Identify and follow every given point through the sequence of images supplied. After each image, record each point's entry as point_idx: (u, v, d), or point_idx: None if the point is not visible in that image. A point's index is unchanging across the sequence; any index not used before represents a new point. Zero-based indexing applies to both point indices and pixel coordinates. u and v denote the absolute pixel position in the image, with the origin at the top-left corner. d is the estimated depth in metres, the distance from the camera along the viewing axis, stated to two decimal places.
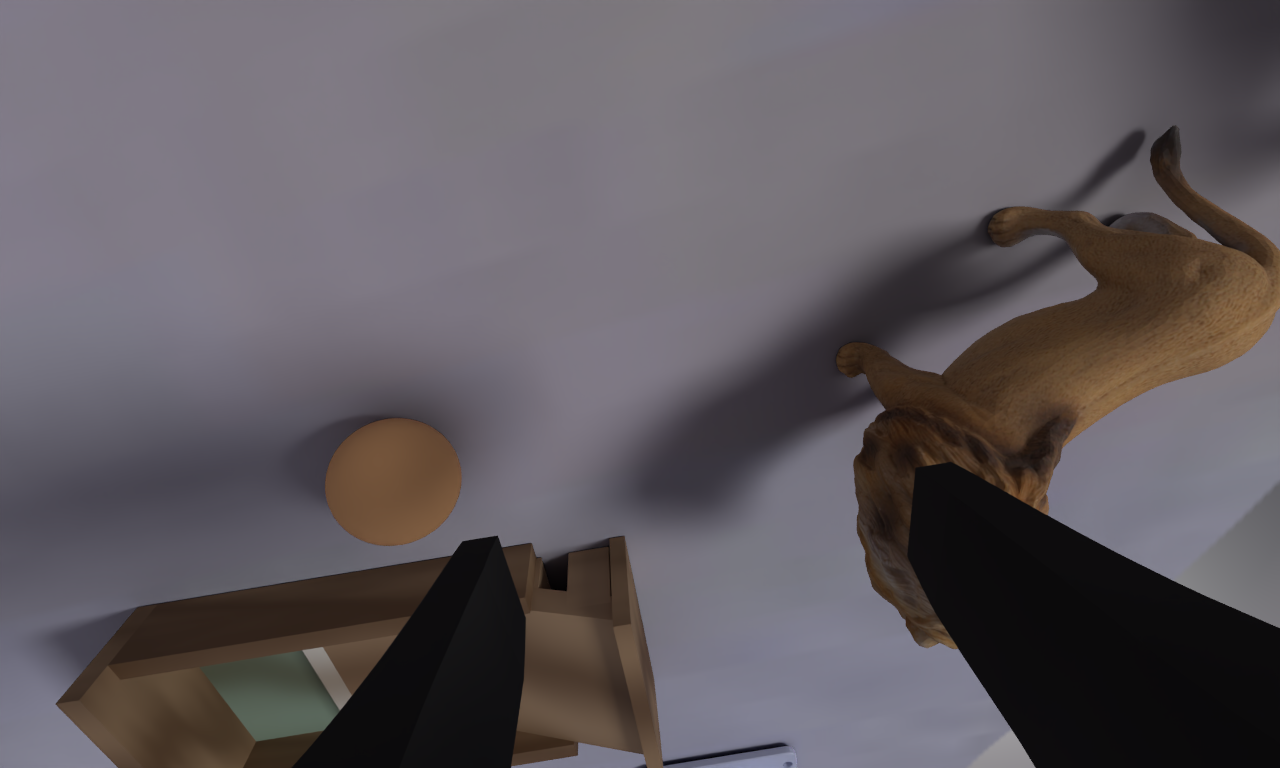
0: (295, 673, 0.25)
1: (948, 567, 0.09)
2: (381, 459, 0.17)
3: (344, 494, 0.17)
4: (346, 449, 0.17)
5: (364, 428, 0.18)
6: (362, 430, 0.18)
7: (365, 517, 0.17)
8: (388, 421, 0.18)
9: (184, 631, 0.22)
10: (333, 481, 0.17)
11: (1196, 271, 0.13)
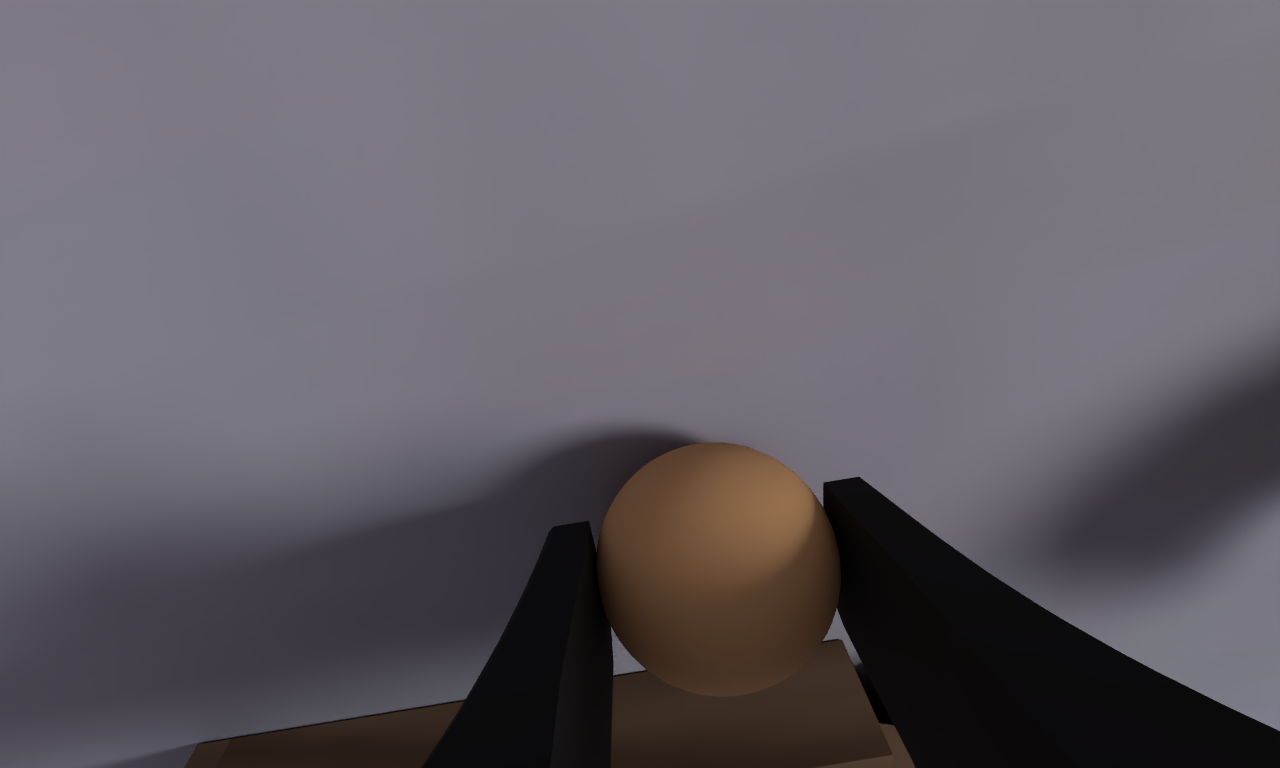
0: None
1: (851, 583, 0.09)
2: (753, 535, 0.08)
3: (680, 609, 0.08)
4: (664, 510, 0.09)
5: (678, 465, 0.09)
6: (678, 469, 0.09)
7: (723, 658, 0.08)
8: (718, 450, 0.09)
9: None
10: (645, 578, 0.08)
11: None
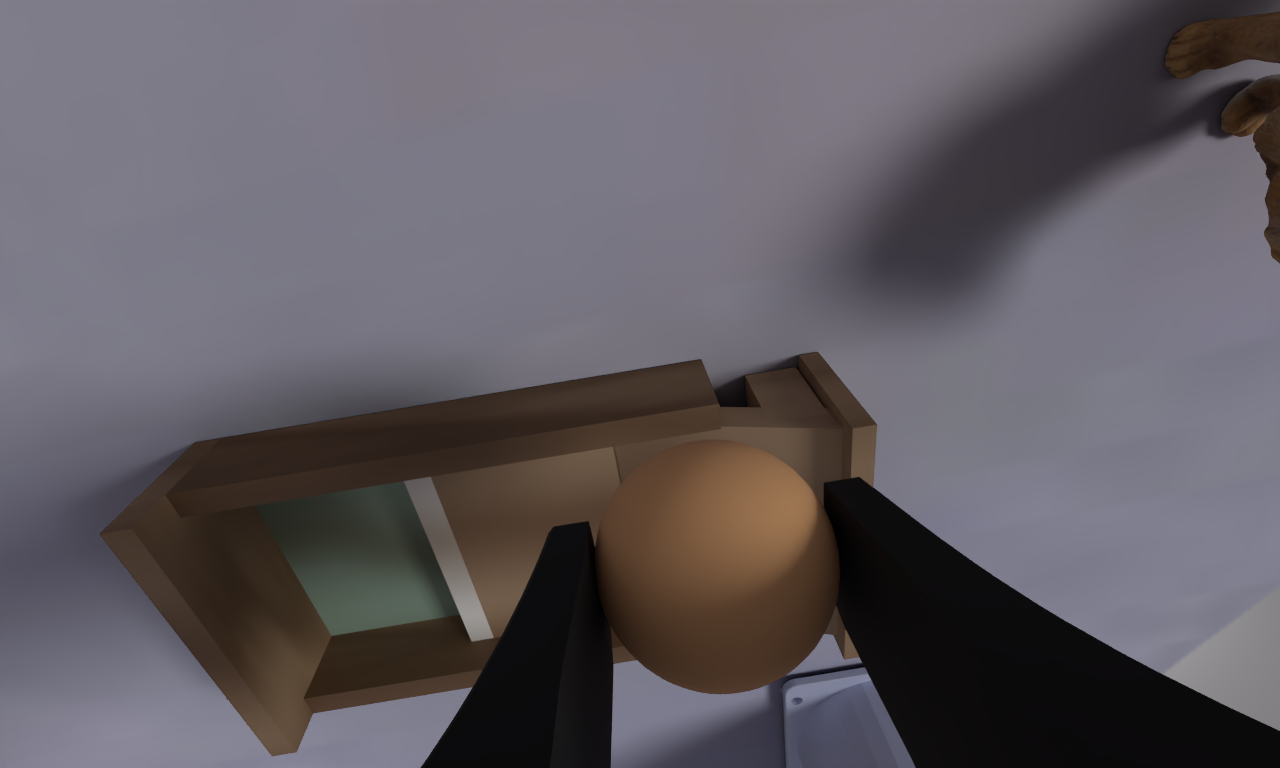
0: (387, 541, 0.20)
1: (851, 583, 0.09)
2: (751, 531, 0.08)
3: (678, 606, 0.08)
4: (662, 507, 0.09)
5: (676, 462, 0.09)
6: (676, 466, 0.09)
7: (722, 655, 0.08)
8: (716, 447, 0.09)
9: (261, 459, 0.16)
10: (642, 575, 0.08)
11: None
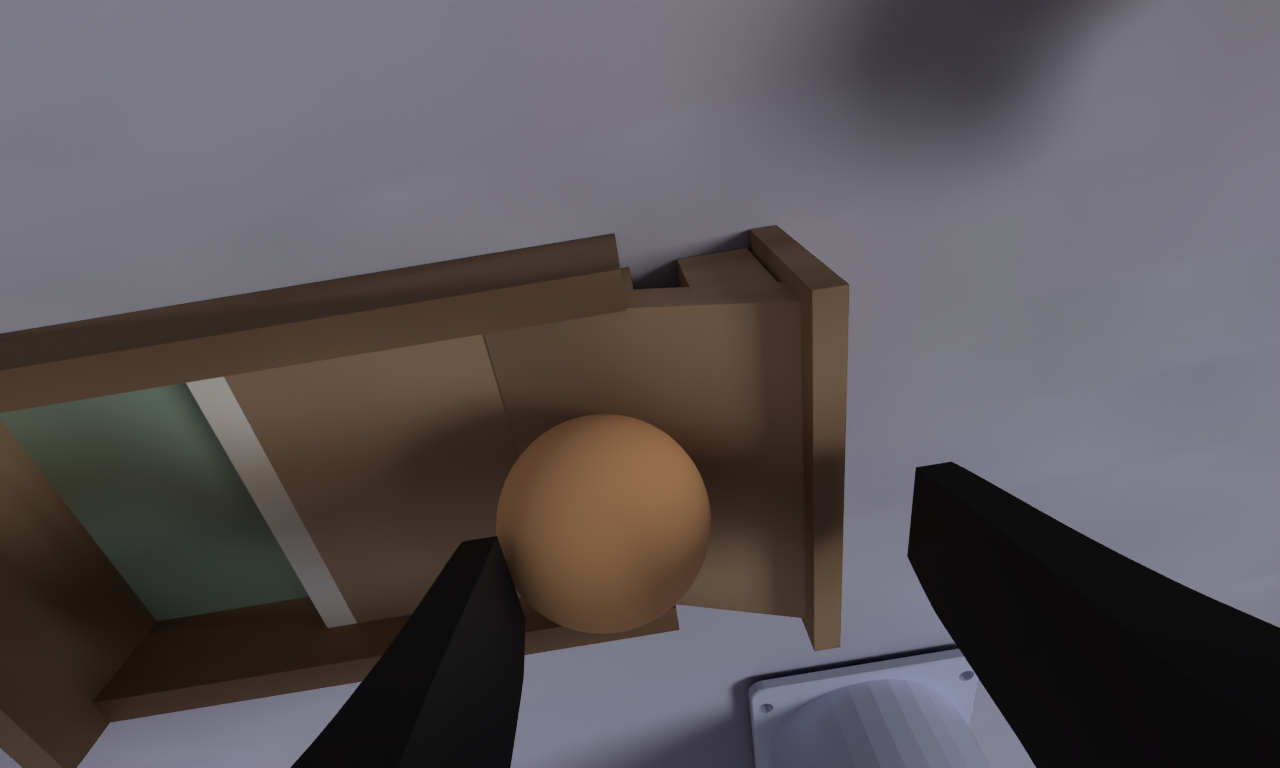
0: (209, 493, 0.15)
1: (949, 567, 0.09)
2: (547, 493, 0.10)
3: (499, 509, 0.10)
4: (537, 443, 0.11)
5: (582, 421, 0.11)
6: (576, 423, 0.11)
7: None
8: (614, 429, 0.10)
9: None
10: None
11: None
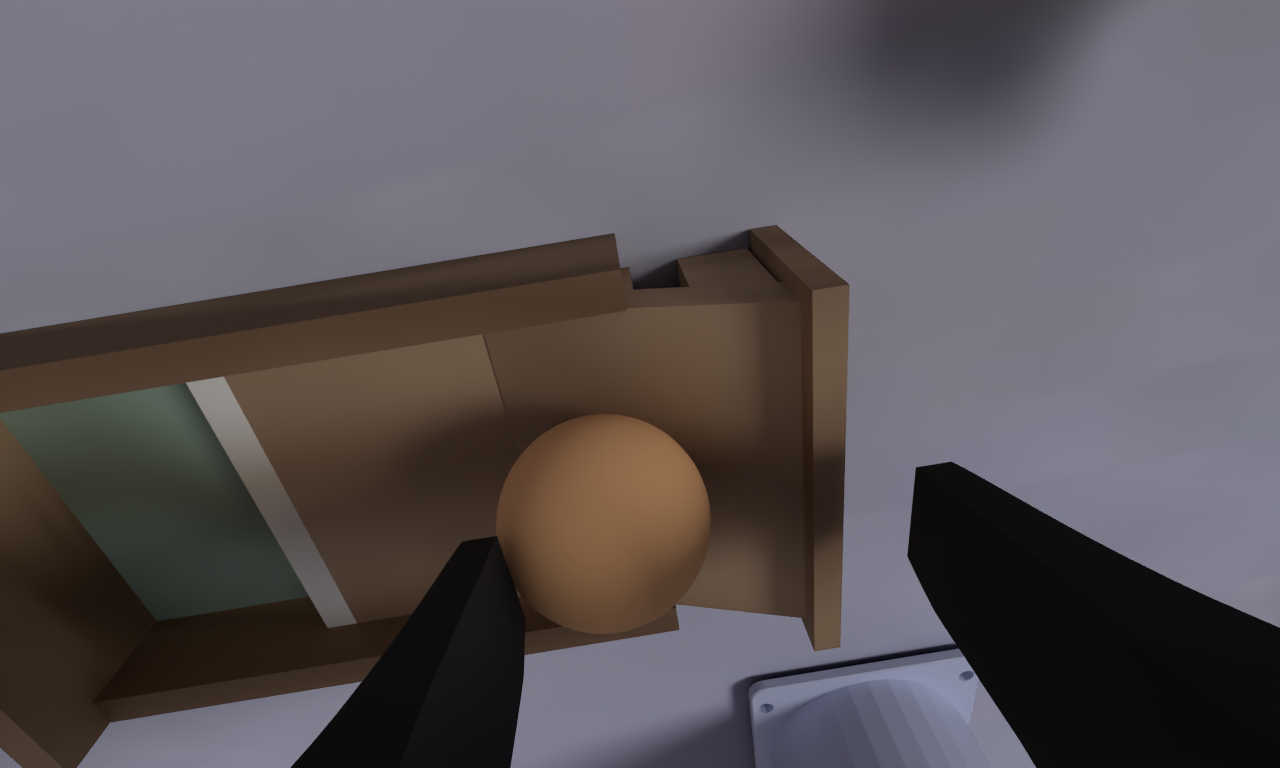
0: (209, 493, 0.15)
1: (949, 567, 0.09)
2: (547, 493, 0.10)
3: (499, 509, 0.10)
4: (537, 443, 0.11)
5: (582, 421, 0.11)
6: (576, 423, 0.11)
7: None
8: (614, 429, 0.10)
9: None
10: None
11: None
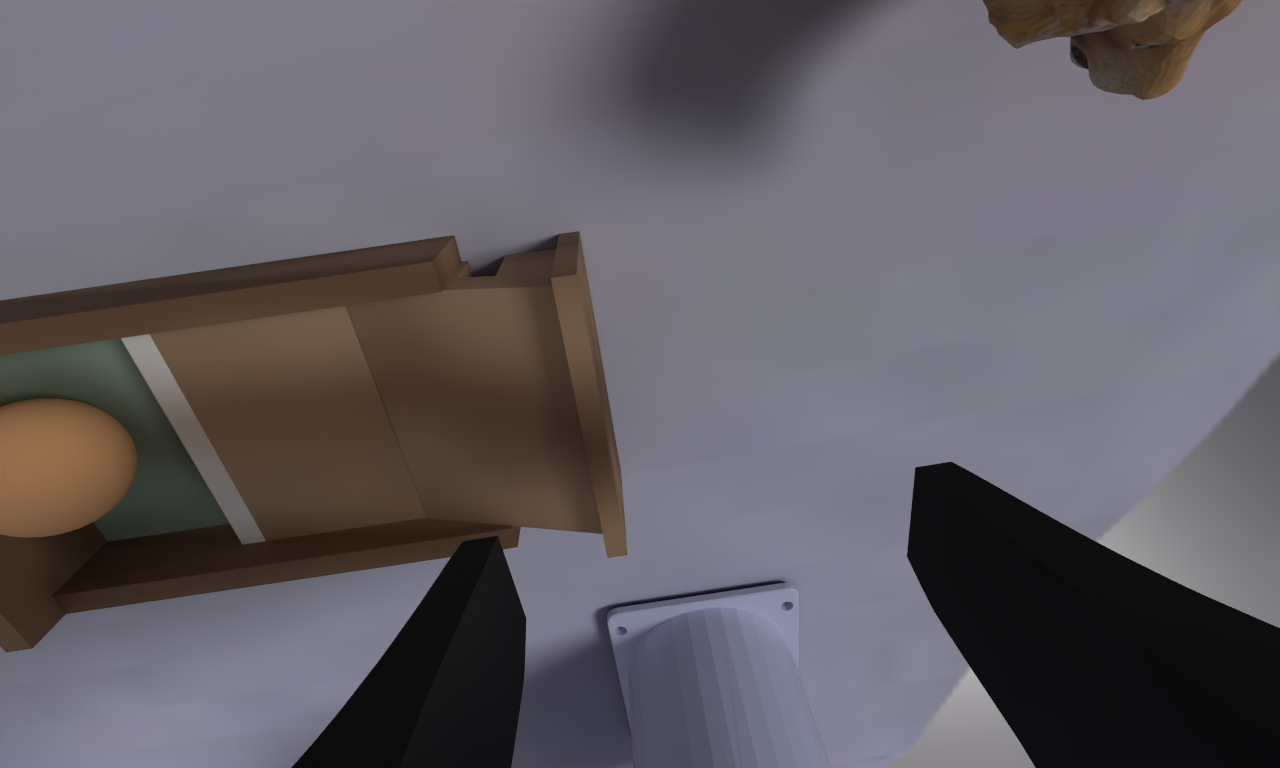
0: (148, 433, 0.19)
1: (948, 567, 0.09)
2: None
3: None
4: None
5: (11, 403, 0.17)
6: (6, 405, 0.17)
7: None
8: (26, 405, 0.16)
9: None
10: None
11: None
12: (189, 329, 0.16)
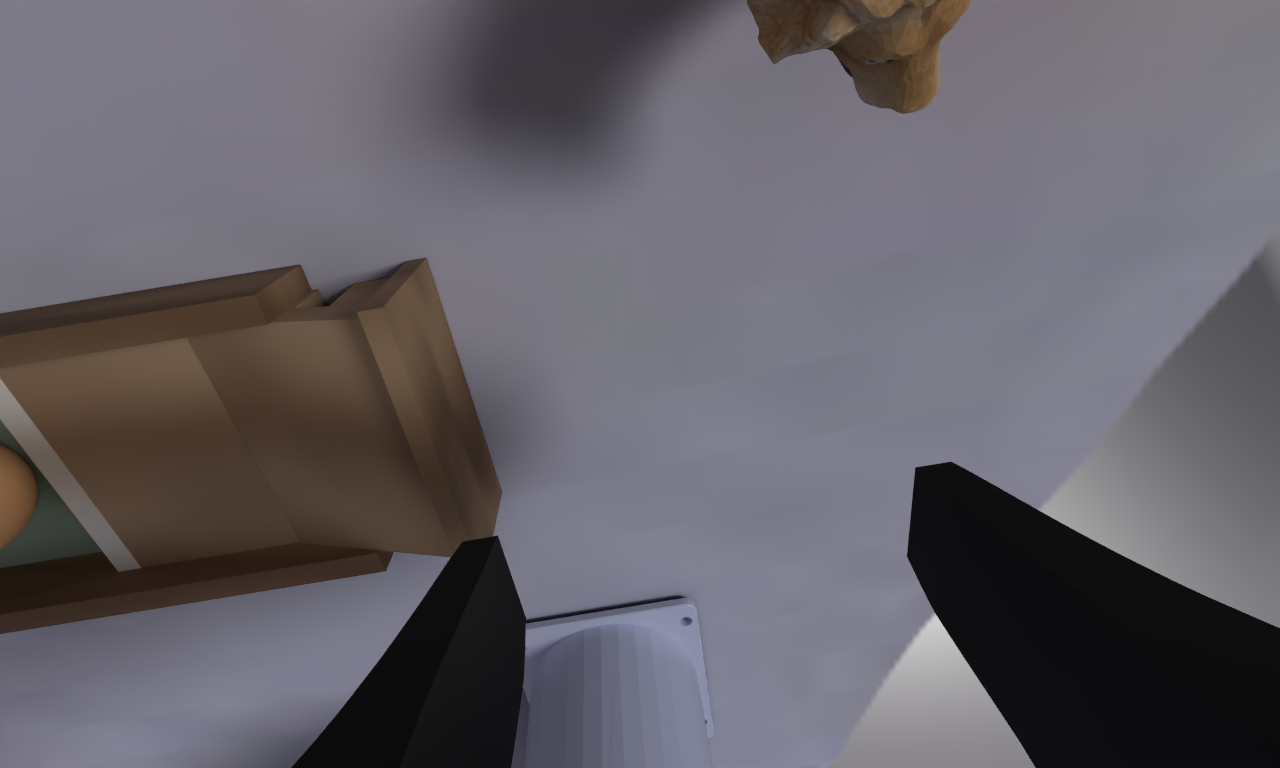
0: None
1: (948, 567, 0.09)
2: None
3: None
4: None
5: None
6: None
7: None
8: None
9: None
10: None
11: None
12: (32, 364, 0.16)
